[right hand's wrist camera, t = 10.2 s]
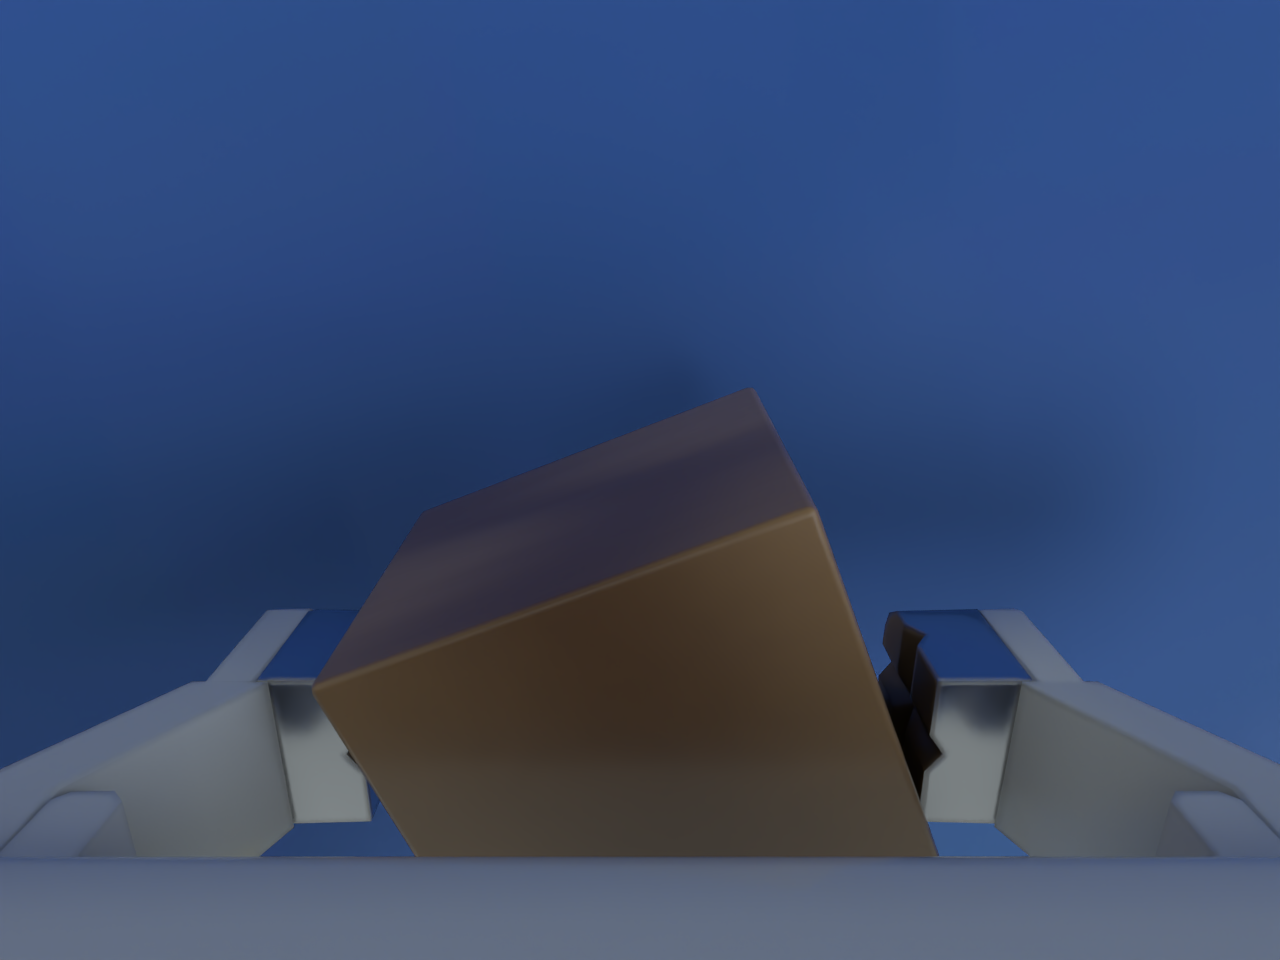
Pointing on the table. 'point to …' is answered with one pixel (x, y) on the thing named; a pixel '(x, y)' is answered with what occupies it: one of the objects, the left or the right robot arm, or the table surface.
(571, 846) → the brown block
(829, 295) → the table surface
